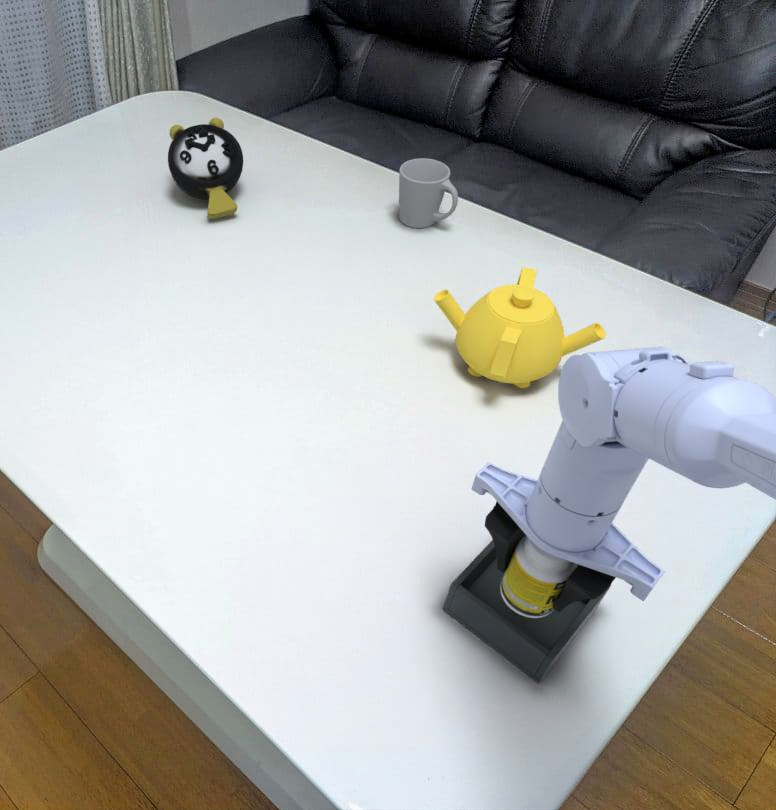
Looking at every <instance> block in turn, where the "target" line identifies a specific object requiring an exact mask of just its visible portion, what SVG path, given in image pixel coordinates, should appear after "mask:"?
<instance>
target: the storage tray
mask: <svg viewBox="0 0 776 810" xmlns="http://www.w3.org/2000/svg"><path fill="white" fill-rule="evenodd" d="M578 565H579V564H577V566H578ZM577 566H576V568H577ZM506 570H507V569H506ZM506 570H505V572H506ZM505 572H504V573H503V572H501V571H500V570H498V569H497V556H496V549H495V545H494V541H493V539H492V540H491V541H490V542H489V543H487V545H486V546H485V547H484V548H483V549H482V550H481V551H480V552H479V554H477V556H476V557H475V558H474V559H473V560H472V561H471V562H470V563H469V564H468V565H467V566H466V567H465V568H464V570H463V571H462V572H461V573H460V574H459V575H457V577H456V578H455V579H454V580H453V581H452V582H451V583H450V585H449V589H448V592H447V595H446V598H445V601H444V603H443V606H442V610H443V611H444V612H445V613H446V614H448V615H449V616H451V617H452V618H453V619H455V620H456V621H457V622H458V623H460V624H461V625H462V626H463V627H465V628H466V629H468V630H469V631H470V632H471V633H472V634H474V635H475V636H476V637H478V638H479V639H480V640H481V641H483V642H484V643H486V644H487V646H489V647H491V648H492V649H493V650H495V651H496V652H497V653H499V654H500V655H501V656H502V657H504V658H505V659H507V660H508V661H509V662H510V663H512V665H514V666H515V667H517V669H519V670H520V671H522V672H523V673H524V674H526V675H527V676H528V677H529V678H531V679H532V680H533V681H535V682H536V683H537V684H540V683H541V681H542V680H543V679H544V678H545V677H546V675H547V674H548V673H549V671H550V670H551V669H552V667H553V666H554V665H555V664H556V662H557V661H558V660H559V658H560V657H561V656H562V654H563V653H564V652H565V651H566V649H567V648H568V647H569V645H570V644H571V643H572V641H573V640H574V639H575V638H576V636H577V635H578V634H579V632H580V631H581V630H582V628H584V626H585V624H587V622H588V620H589V619H590V618H591V617H592V616H593V614H594V613H595V611H596V610H597V609H598V607H599V605H600V604H601V602H602V601H603V600H604V598H605V596H606V594H607V593H608V591H609V589H610V588H611V587H612V584H611V585H610V586H609V587H608V588H607V590H606V591H605V592H604V593H603V594H602V595H601V596H599V597H598V598H596V599H583V600H579V601H576V602H574V603H572V604H570V605H568V606H566V607H565V608H564V609H563V610H562V611H561V612H558V611H557V610H555V609H554V610H553V611H552V612H551V613H550V614H548V615H547V616H544V617H541V618H529V617H525V616H522V615H520V614H518V613H516V612H515V611H513V610H512V609H511V608H509V607H508V605H507V604H506V603H505V601H504V600H503V598H502V595H501V590H500V586H501V581H502V579H503V577H504V574H505Z"/></svg>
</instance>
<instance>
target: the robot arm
mask: <svg viewBox="0 0 776 810" xmlns="http://www.w3.org/2000/svg"><path fill="white" fill-rule="evenodd" d="M560 370H561V371H560V373H559V379H558V384H557V385H558V386H557V398H558V399H557V400H558V407H559V412H560V416H561V423H560V426H559V428H558V429H557V433H556V435H555V437H554V440H553V442H552V444H551V446H550V449H549V451H548V454H547V456H546V459H545V461H544V464H543V466H542V467H541V471H540V473H539V476H538V478H537V479H534V478H531V477H528V476H524V475H521V474H519V473H516V472H512V471H509V470H506V469H504V468H502V467H500V466H498V465H496V464H494V463H492V462H490V461H488V462H487V463H486V464H485V465H484V466H483V467H482V468H481V469H480V470H479V471H478V472H477V473H476V474H475V476H474V479H473V483H472V486H471V490H472V491H473V492H474V493H476V494H478V495H480V496H484V495H486V493H487V494H489V495H490V496H492V498H494V499H495V505H493V508H492V509H491V510H490V511H489V512H488V513H487V515H486V517H485V520H484V527H485V528H486V530H487V532H488V533H489V535H490V537H491V539H492V540H493V541H494V545H495V549H496V556H497V569H498V570H500V571H501V572H503V573H504V572H505V570H506V569H507V568H508V565H509V563H510V561H511V558H512V556H513V554H514V552H515V549H516V547H517V545H518V543H519V541H520V540H521V539H522V538H523V537H524V536H526V535H527V536H528V538H529V539H530V540H531V541H532V542H533V543H534V544H535V545H536V546H538V547H539V548H540V549H542V550H543V551H545V552H547V553H549V554H551V555H553V556H556V557H559V558H562V559H565V560H567V561H570V562H573V563H576V564H579V565H578V566H577V568H576V569H575V570H574V571H573V572H572V574H571V575H570V576H569V577H568V579H567V582H566V586H565V588H564V590H563V593H562V594H561V595H560V597H559V598H558V599H557V600H556V602H555V603H554V605H553V607H552V608H554V609H555V610H557V611H558V612H561V611H562V610H563V609H564V608H565V607H566V606H568V605H570V604H572V603H574V602H576V601H579V600H583V599H596V598H598V597H599V596H601V595H602V594H603V593H604V592H605V591H606V590H607V588H608V587H609V586H610V585H611V586H612V584H613V582H614V581H615V579H616V578H617V579H620V580H622V581H624V582H625V583H627V584H628V585H630V586H631V588H630V590H629V591H630V594H632V595H633V596H634V597H636V598H637V599H639V600H640V601H642V602H644V601H646V599H647V597H648V596H649V595H650V593H652V591H653V589H654V588H655V587H656V585H657V583H658V582H659V581H660V580H661V578H662V577H663V576H664V574H665V572H666V570H665V569H663V568H662V567H660V566H659V565H657V564H656V563H655V562H653V561H652V560H650V559H649V558H648V557H647V556H646V555H645V554H644V553H643V552H642V551H640V550H639V548H638V547H637V546H636V545H635V544H634V543H633V542H632V541H631V540H630V539H629V538H628V537H627V536H626V534H624V533H623V532H622V531H621V530H620V528H618V527H617V526H616V525H615V524H614V520H615V518H616V517H617V515H618V514H619V512H620V510H621V508H622V506H623V504H624V502H625V501H626V499H627V497H628V495H629V494H630V492H631V490H632V489H633V487H634V486H635V483H636V482H637V480H638V478H639V476H640V475H641V473H642V471H643V469H644V468H645V467H646V464H647V463H648V461H649V460H651V461H652V462H655V463H657V464H658V465H660V466H663V467H665V468H666V469H668V470H670V471H672V472H674V473H676V474H678V475H680V476H682V477H684V478H686V479H688V480H689V481H692V482H693V483H696V484H698V485H700V486H702V487H705V488H711V489H730V488H733V487H737V486H741V485H743V484H748V485H749V486H751V487H752V488H754V489H756V490H757V491H759V492H761V493H763V494H765V495H766V496H768V497H770V498H772V499H773V500H774V501H776V397H775V396H774V394H773V393H772V392H770V391H769V389H767V388H765V387H764V386H762V385H761V384H758V383H756V382H754V381H749V380H746V379H742V378H738V377H735V376H734V372H735V371H734V370H735V366H734V364H731V363H729V362H725V361H722V360H709V361H697V362H695V361H694V362H692V363H691V364H690V362H689V360H687V358H685V357H684V356H682V355H681V354H678V353H676V352H674V351H673V350H672V349H671V348H669V347H665V346H654V347H640V348H629V349H616V350H605V351H603V350H602V351H589V352H585V353H582V354H573V355H571V356H570V357H568V358H567V359H566V360H565V362H564V364H563V366H562V368H561V369H560Z"/></svg>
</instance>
